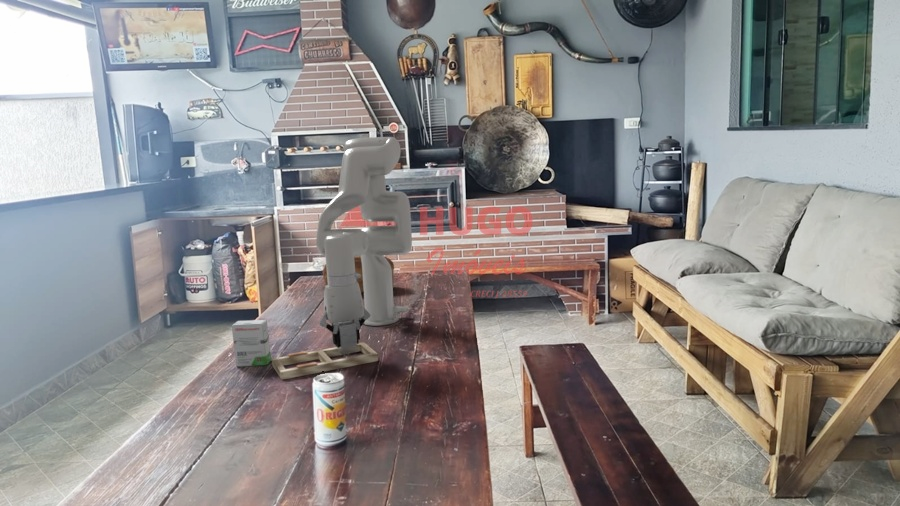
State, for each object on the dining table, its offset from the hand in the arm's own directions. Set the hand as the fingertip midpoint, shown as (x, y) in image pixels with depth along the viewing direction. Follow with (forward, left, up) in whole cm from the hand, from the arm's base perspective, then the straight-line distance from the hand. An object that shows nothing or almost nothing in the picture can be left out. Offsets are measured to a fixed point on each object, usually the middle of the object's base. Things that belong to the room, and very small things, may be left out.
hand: (346, 343), depth 177 cm
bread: (-28, -75, -5) cm, 81 cm away
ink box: (+23, -10, -4) cm, 26 cm away
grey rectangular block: (0, 0, -2) cm, 2 cm away
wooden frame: (+6, +1, -4) cm, 8 cm away
